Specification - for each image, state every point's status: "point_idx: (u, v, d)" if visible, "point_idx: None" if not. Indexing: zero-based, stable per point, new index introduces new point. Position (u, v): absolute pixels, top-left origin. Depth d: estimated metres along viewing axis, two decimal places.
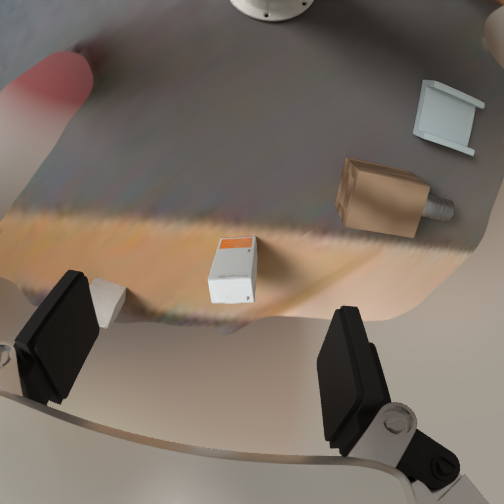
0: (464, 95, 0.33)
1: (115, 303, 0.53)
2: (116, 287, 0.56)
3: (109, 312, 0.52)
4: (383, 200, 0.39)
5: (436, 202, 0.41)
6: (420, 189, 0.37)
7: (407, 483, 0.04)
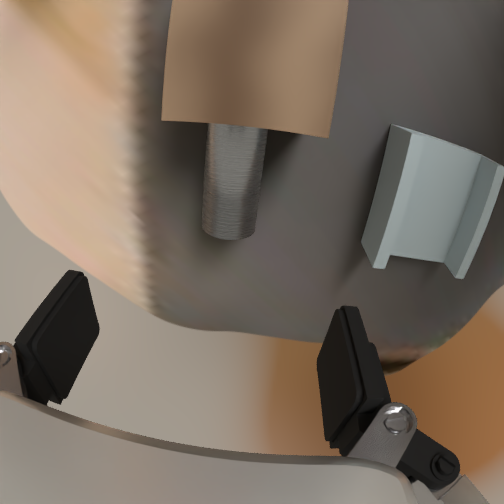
0: (480, 233, 0.19)
1: None
2: None
3: None
4: None
5: (242, 183, 0.18)
6: (320, 107, 0.13)
7: (407, 483, 0.04)
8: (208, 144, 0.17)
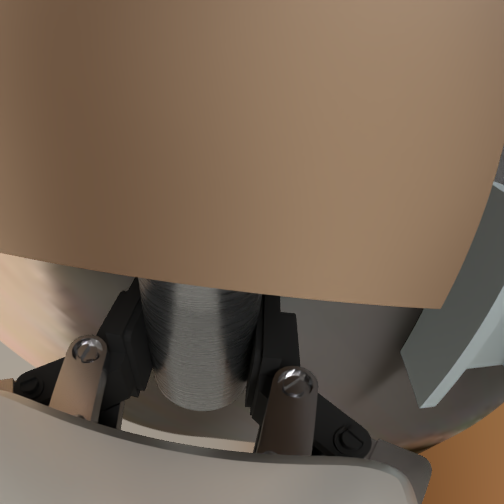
0: None
1: None
2: None
3: None
4: None
5: (234, 336, 0.08)
6: (444, 211, 0.03)
7: (407, 483, 0.04)
8: None
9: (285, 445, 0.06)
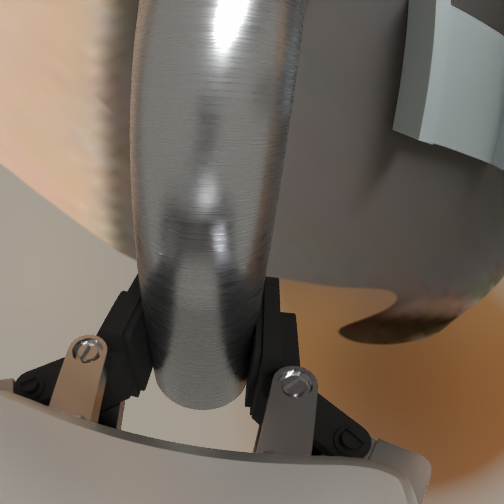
0: None
1: None
2: None
3: None
4: None
5: (234, 336, 0.08)
6: None
7: (407, 483, 0.04)
8: (142, 262, 0.07)
9: (285, 445, 0.06)
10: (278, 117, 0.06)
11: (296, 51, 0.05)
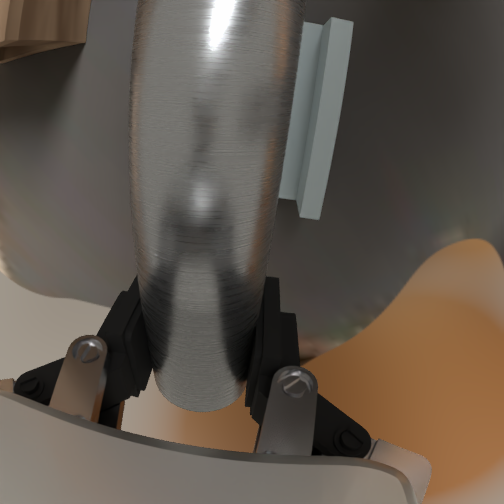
0: (329, 135, 0.13)
1: None
2: None
3: None
4: None
5: (234, 339, 0.08)
6: None
7: (407, 483, 0.04)
8: (141, 265, 0.07)
9: (285, 445, 0.06)
10: (277, 119, 0.06)
11: (296, 53, 0.05)
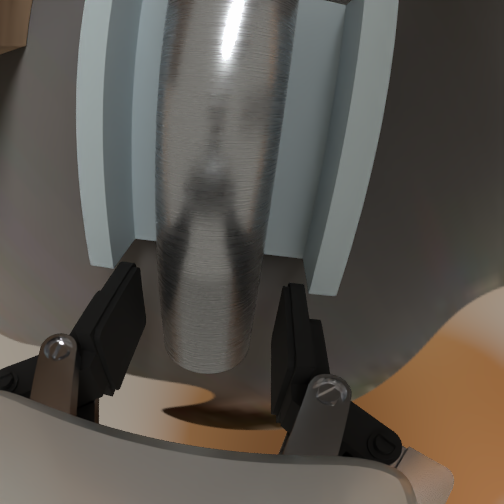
0: (359, 176, 0.08)
1: None
2: None
3: None
4: None
5: (237, 296, 0.10)
6: None
7: (407, 483, 0.04)
8: (162, 228, 0.09)
9: (325, 454, 0.06)
10: (272, 110, 0.07)
11: (287, 60, 0.07)
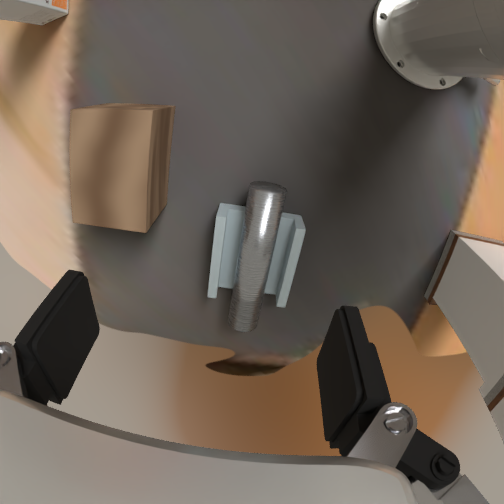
0: (290, 276, 0.34)
1: None
2: None
3: None
4: (113, 159, 0.24)
5: (256, 307, 0.35)
6: (139, 217, 0.27)
7: (407, 483, 0.04)
8: (238, 289, 0.34)
9: None
10: (269, 263, 0.33)
11: (273, 250, 0.32)
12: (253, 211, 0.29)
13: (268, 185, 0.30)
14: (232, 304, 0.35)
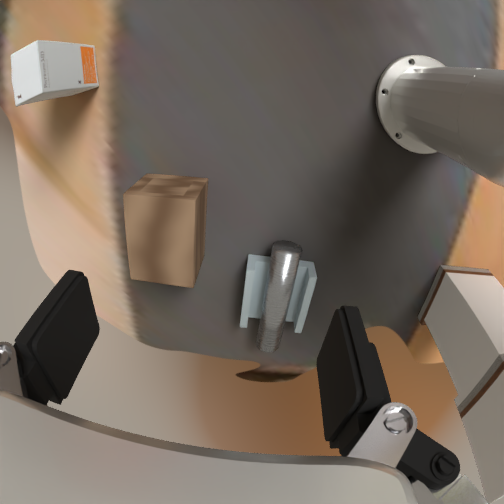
0: (305, 311, 0.42)
1: None
2: None
3: None
4: (164, 235, 0.33)
5: (279, 334, 0.44)
6: (188, 277, 0.36)
7: (407, 483, 0.04)
8: (264, 322, 0.43)
9: None
10: (288, 303, 0.41)
11: (291, 293, 0.41)
12: (276, 267, 0.38)
13: (287, 244, 0.39)
14: (259, 332, 0.44)
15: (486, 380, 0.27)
